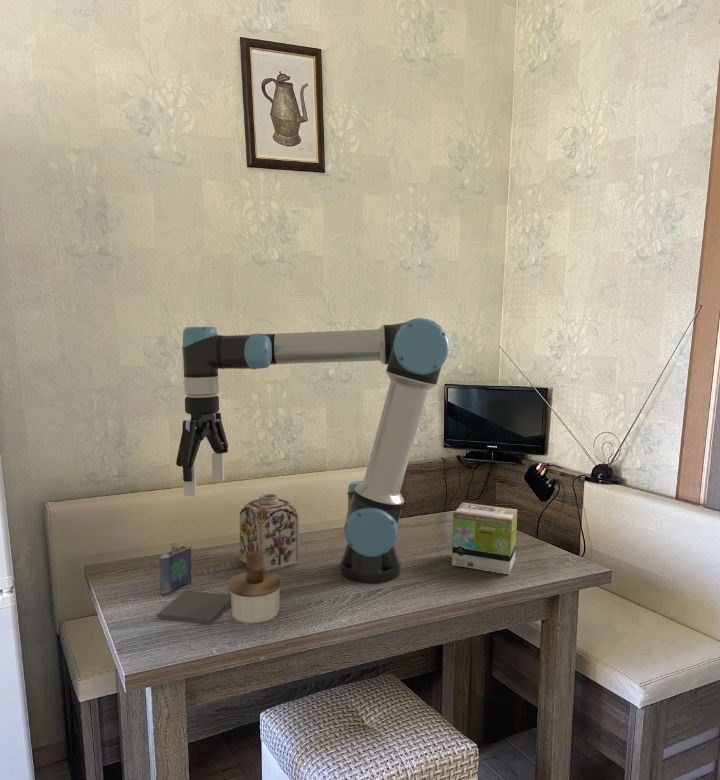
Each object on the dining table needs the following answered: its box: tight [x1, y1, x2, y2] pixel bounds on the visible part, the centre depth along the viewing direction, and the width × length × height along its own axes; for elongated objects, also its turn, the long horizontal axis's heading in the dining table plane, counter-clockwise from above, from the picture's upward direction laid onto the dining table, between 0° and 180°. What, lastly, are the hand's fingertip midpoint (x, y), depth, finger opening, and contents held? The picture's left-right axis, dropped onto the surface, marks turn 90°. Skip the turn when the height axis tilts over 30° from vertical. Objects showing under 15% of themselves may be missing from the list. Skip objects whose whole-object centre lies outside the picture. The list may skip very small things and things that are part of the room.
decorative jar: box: [239, 493, 300, 572], centre depth 163 cm, size 12×12×18 cm
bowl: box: [230, 588, 280, 625], centre depth 135 cm, size 10×10×6 cm
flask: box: [159, 542, 192, 597], centre depth 147 cm, size 9×3×11 cm, turn 151°
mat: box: [158, 590, 231, 625], centre depth 137 cm, size 12×12×1 cm
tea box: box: [451, 502, 518, 575], centre depth 163 cm, size 15×10×15 cm, turn 68°
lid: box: [228, 551, 282, 597], centre depth 134 cm, size 11×11×7 cm
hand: (205, 487), depth 143 cm, fingers open, 13 cm apart
